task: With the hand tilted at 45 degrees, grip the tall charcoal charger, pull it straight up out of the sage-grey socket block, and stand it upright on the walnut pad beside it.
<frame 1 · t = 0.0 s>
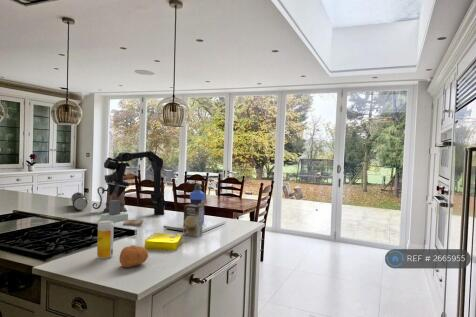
hand: (113, 196, 202), 15 cm above the counter, tool pointing down, fingers open, 9 cm apart
potato: (133, 265, 128), on the counter
socket block: (114, 220, 204), on the counter
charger: (114, 219, 204), resting on socket block
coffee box: (192, 235, 176), on the counter
water bottle: (196, 223, 203), on the counter
white yellow canister: (105, 257, 136), on the counter
muzzle brake: (78, 208, 241), on the counter
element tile: (163, 246, 155), on the counter
tankard: (110, 211, 232), on the counter
pad: (133, 224, 196), on the counter
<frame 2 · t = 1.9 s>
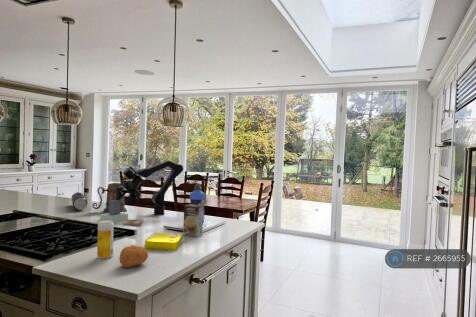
hand: (120, 202, 208), 11 cm above the counter, tool tilted 45°, fingers open, 9 cm apart
nothing on the counter moved.
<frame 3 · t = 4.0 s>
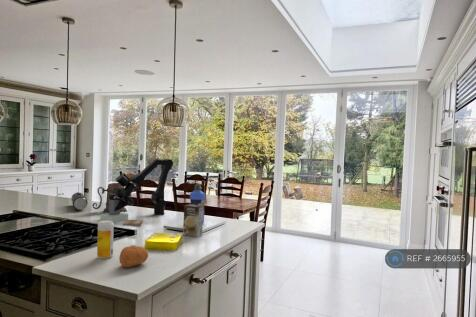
hand: (112, 210, 203), 7 cm above the counter, tool tilted 45°, fingers closed on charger, 4 cm apart
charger: (114, 219, 204), resting on socket block, touching gripper
everything else where it was.
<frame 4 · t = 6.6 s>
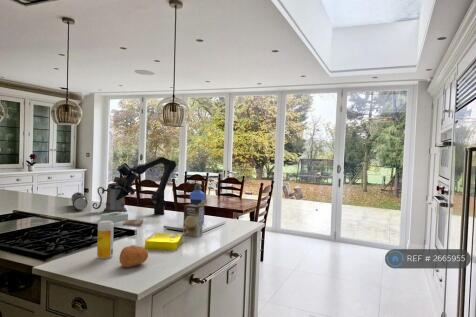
hand: (114, 199, 202), 13 cm above the counter, tool tilted 45°, fingers closed on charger, 4 cm apart
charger: (115, 209, 204), point 7 cm above the counter, touching gripper
everything else where it was.
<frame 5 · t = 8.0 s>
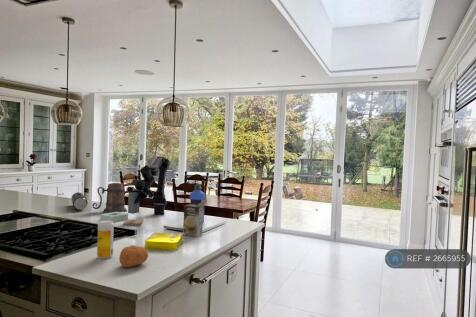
hand: (132, 202, 195), 13 cm above the counter, tool tilted 45°, fingers closed on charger, 4 cm apart
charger: (133, 212, 196), point 7 cm above the counter, touching gripper
everything else where it was.
when the fingers open (8 cm above the counter, at t = 9.2 s): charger stays where it is, resting on pad.
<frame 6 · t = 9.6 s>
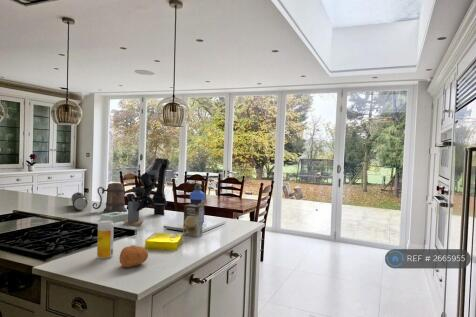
hand: (131, 210, 195), 9 cm above the counter, tool tilted 45°, fingers open, 8 cm apart
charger: (133, 221, 196), point 1 cm above the counter, touching pad
everything else where it was.
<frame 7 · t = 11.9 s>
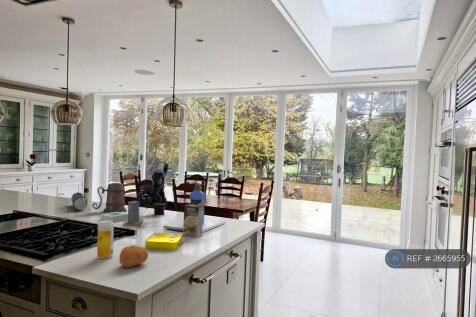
hand: (141, 207, 204), 9 cm above the counter, tool tilted 40°, fingers open, 9 cm apart
nothing on the counter moved.
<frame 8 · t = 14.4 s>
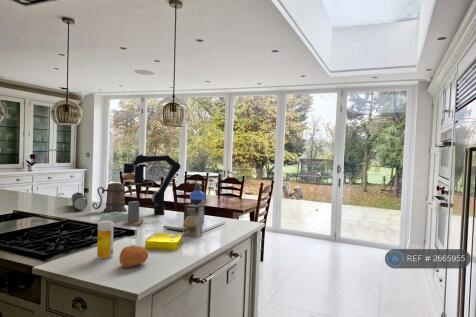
hand: (138, 196, 222), 13 cm above the counter, tool pointing down, fingers open, 9 cm apart
nothing on the counter moved.
at the end: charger 0.0 cm off-centre on the pad, point 1.5 cm above the pad's base; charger tilted 0°; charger touching pad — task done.
